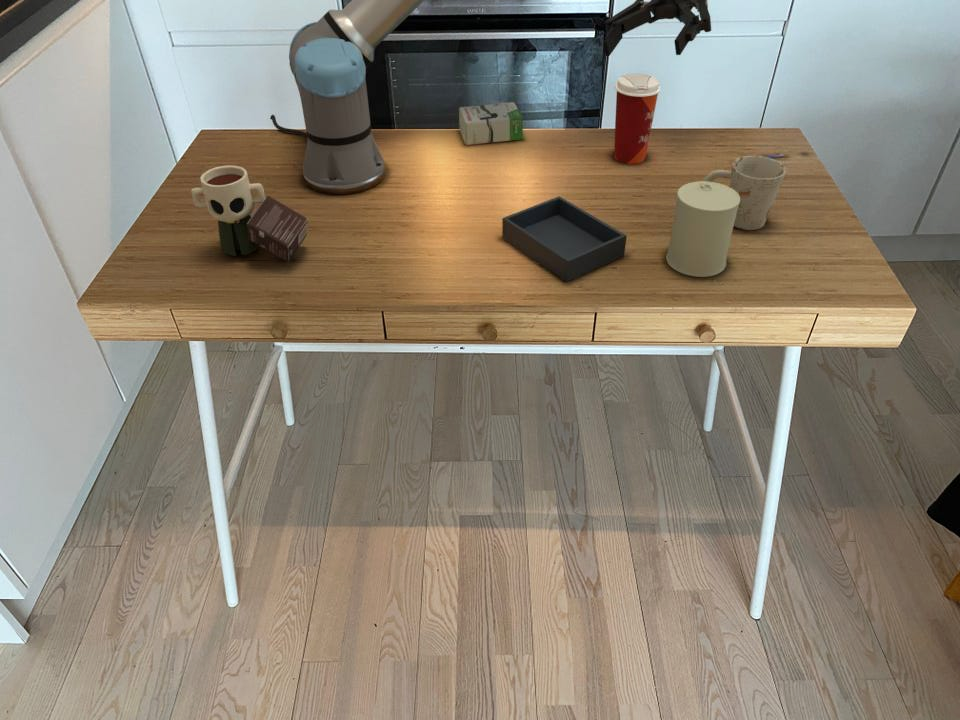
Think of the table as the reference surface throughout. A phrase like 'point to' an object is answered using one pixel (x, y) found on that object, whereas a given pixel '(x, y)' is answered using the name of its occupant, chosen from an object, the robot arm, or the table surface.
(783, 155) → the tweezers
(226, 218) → the character mug
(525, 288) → the table surface
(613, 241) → the tray
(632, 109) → the coffee cup
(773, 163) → the mug
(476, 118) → the ink box
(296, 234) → the box
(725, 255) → the can
